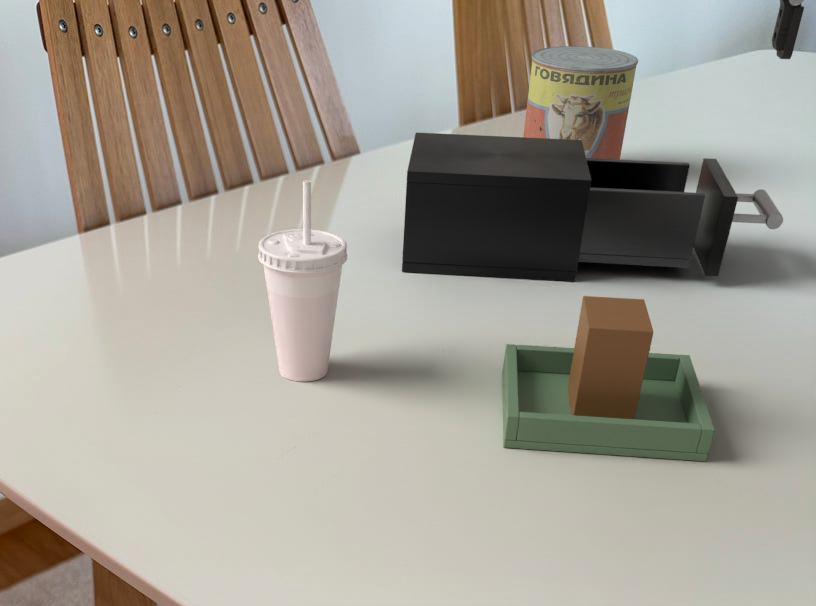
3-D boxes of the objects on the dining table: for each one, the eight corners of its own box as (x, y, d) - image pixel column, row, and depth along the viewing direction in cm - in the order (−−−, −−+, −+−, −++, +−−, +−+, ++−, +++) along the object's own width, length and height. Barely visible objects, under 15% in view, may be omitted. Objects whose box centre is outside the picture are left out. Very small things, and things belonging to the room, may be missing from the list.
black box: (567, 234, 105) (582, 139, 99) (575, 281, 95) (591, 180, 89) (410, 225, 106) (415, 132, 100) (401, 272, 96) (407, 171, 90)
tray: (682, 384, 79) (689, 354, 78) (706, 461, 70) (715, 430, 69) (502, 373, 80) (506, 343, 79) (503, 447, 71) (507, 416, 70)
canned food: (516, 185, 117) (530, 65, 109) (520, 157, 125) (534, 43, 117) (618, 192, 115) (640, 71, 107) (616, 163, 124) (636, 48, 116)
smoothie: (292, 397, 77) (289, 200, 68) (245, 365, 81) (237, 175, 72) (361, 375, 80) (368, 183, 71) (313, 345, 83) (313, 160, 74)
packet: (625, 391, 77) (644, 299, 72) (632, 427, 73) (653, 331, 68) (567, 388, 77) (583, 295, 73) (571, 423, 73) (588, 327, 68)
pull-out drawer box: (750, 235, 102) (769, 161, 98) (774, 280, 93) (797, 200, 89) (549, 225, 104) (559, 151, 99) (554, 267, 95) (566, 188, 90)
